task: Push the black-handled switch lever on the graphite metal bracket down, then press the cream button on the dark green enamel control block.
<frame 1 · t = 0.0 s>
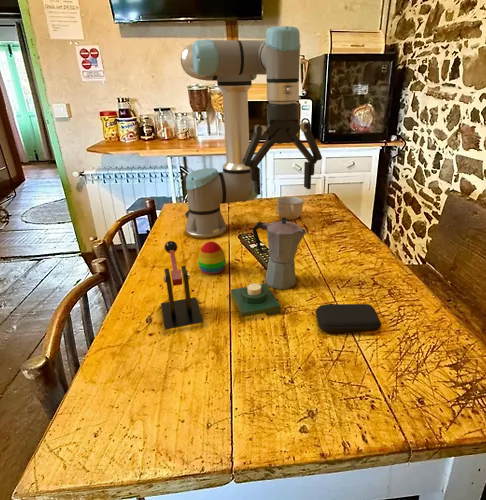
hand: (282, 190, 101), 28 cm above the table, tool pointing down, fingers open, 13 cm apart
switch bracket: (181, 315, 100), on the table
teacup: (289, 219, 163), on the table
start button: (254, 289, 102), point 4 cm above the table, slide at 0.1 cm
control block: (254, 304, 104), on the table
switch lever: (173, 261, 98), point 13 cm above the table, hinge at 25.0°
carrying case: (346, 322, 97), on the table
moka pot: (279, 282, 115), on the table
decorative egg: (212, 272, 121), on the table
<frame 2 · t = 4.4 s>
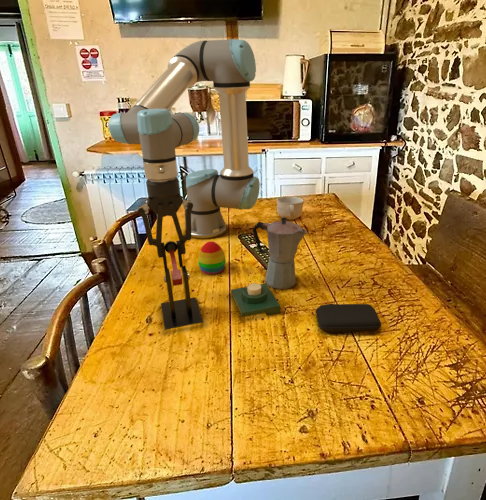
hand: (173, 266, 103), 10 cm above the table, tool pointing down, fingers closed on switch lever, 3 cm apart
switch lever: (173, 261, 98), point 13 cm above the table, hinge at 25.0°, touching gripper
everything else where it was.
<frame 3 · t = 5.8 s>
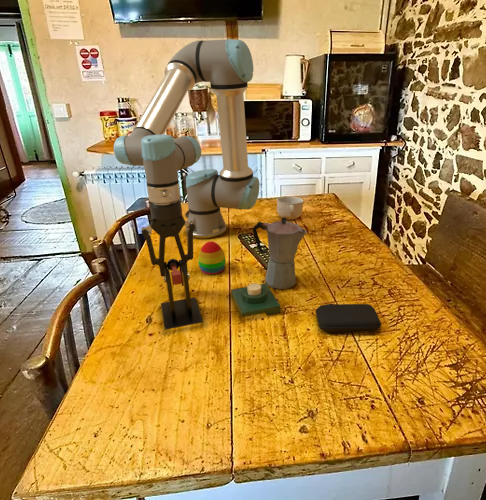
hand: (175, 284, 106), 4 cm above the table, tool pointing down, fingers closed on switch lever, 3 cm apart
switch lever: (174, 270, 100), point 10 cm above the table, hinge at -7.2°, touching gripper
everything else where it was.
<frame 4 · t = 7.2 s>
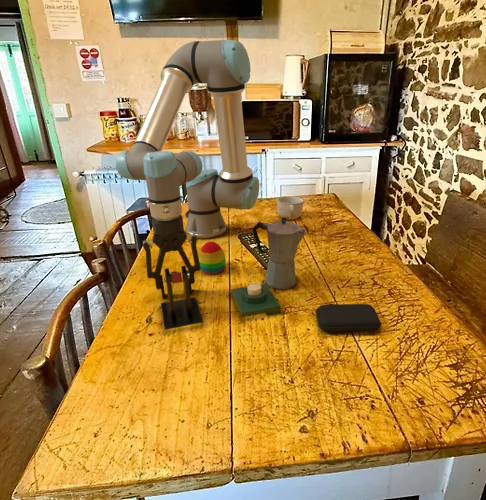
hand: (177, 295, 108), 1 cm above the table, tool pointing down, fingers open, 6 cm apart
switch lever: (175, 277, 100), point 9 cm above the table, hinge at -26.5°
everything else where it was.
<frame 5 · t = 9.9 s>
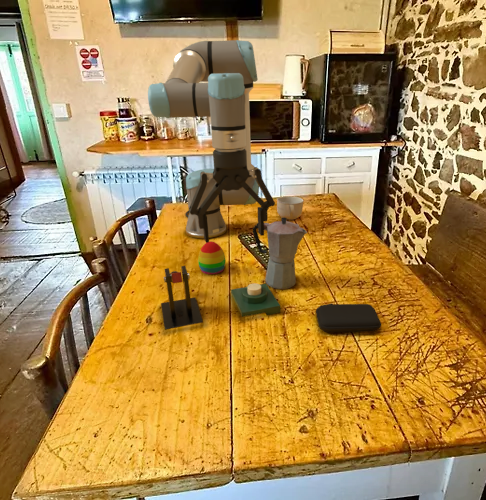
hand: (234, 237, 97), 19 cm above the table, tool pointing down, fingers open, 13 cm apart
nothing on the table moved.
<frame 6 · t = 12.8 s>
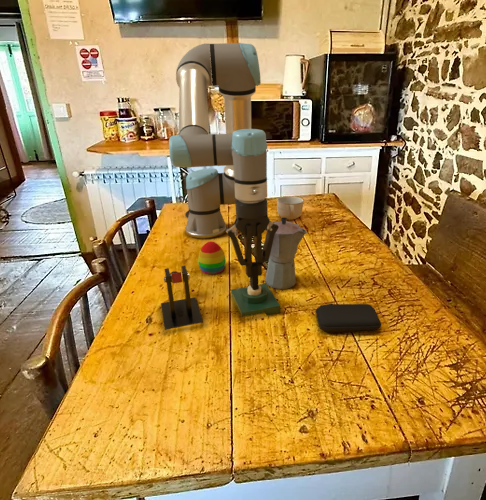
hand: (254, 286, 102), 5 cm above the table, tool pointing down, fingers closed
start button: (254, 290, 102), point 4 cm above the table, slide at -0.2 cm, touching gripper
everything else where it was.
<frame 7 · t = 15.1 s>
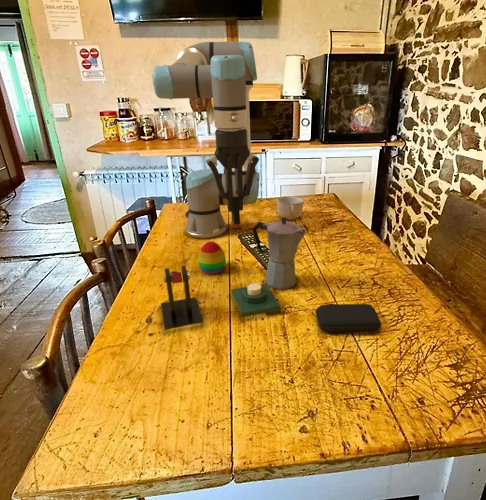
hand: (236, 222, 103), 20 cm above the table, tool pointing down, fingers closed
start button: (254, 289, 102), point 4 cm above the table, slide at 0.1 cm
everything else where it was.
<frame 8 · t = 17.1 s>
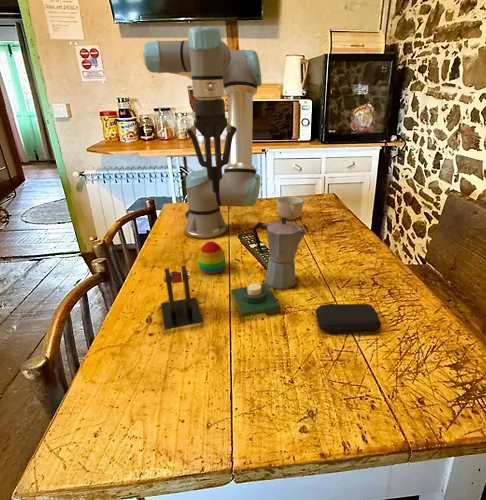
hand: (215, 191, 107), 26 cm above the table, tool pointing down, fingers closed
nothing on the table moved.
at the end: switch lever at -26° (first picture: +25°); start button pushed in 1.0 cm at the most during the clip, back to where it started at the end; start button slide at 0.1 cm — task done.
